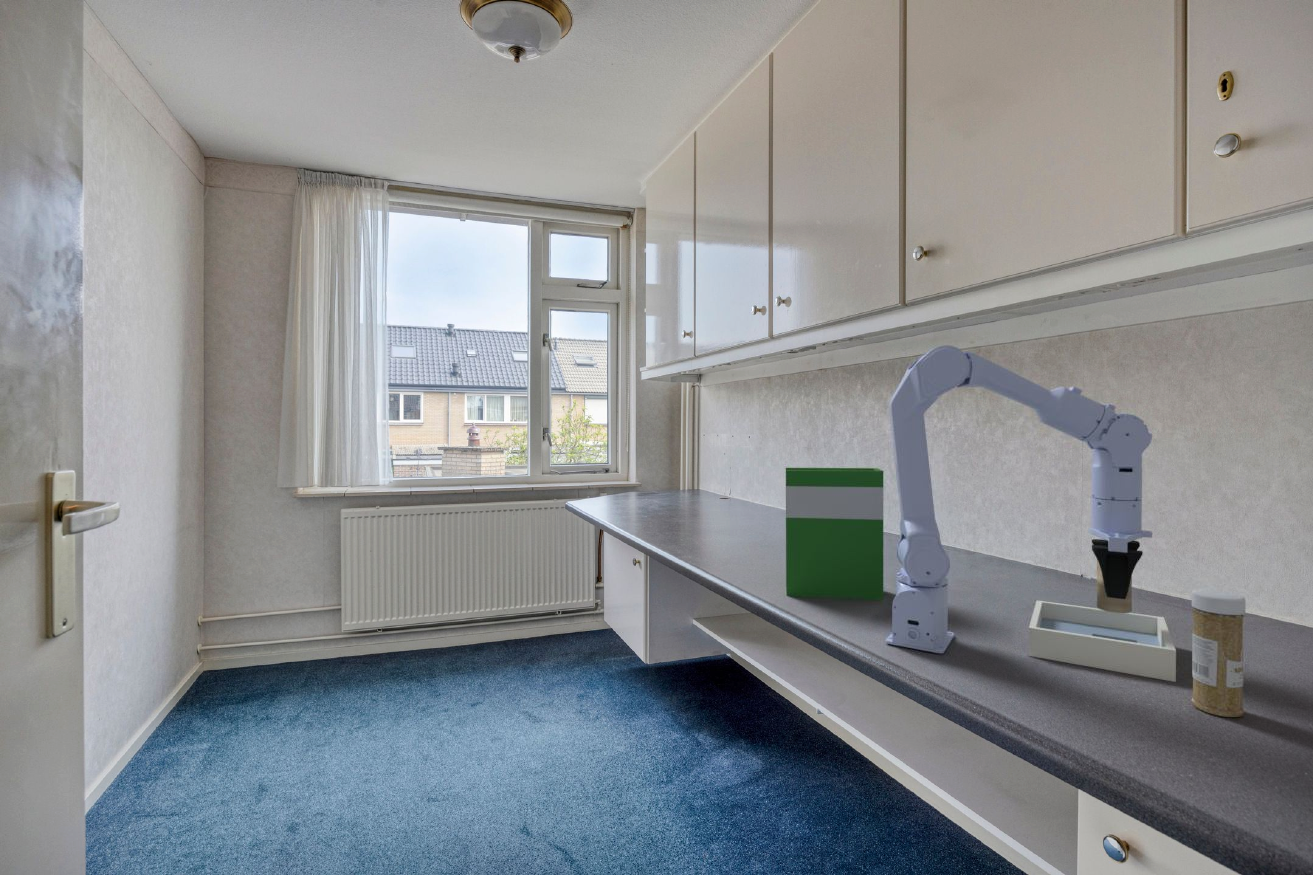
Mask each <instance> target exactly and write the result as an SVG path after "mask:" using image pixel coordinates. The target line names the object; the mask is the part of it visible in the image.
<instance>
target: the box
mask: <svg viewBox="0 0 1313 875" xmlns="http://www.w3.org/2000/svg"><path fill="white" fill-rule="evenodd" d="M1028 656H1029V657H1034V658H1039V659H1045V660H1051V661H1055V662H1062V663H1068V664H1073V665H1078V666H1084V667H1091V668H1096V669H1099V670H1100V669H1101V670H1105V671H1111V672H1117V673H1123V674H1127V675H1128V674H1129V675H1135V676H1139V677H1140V676H1141V677H1145V678H1151V679H1155V680H1162V681H1167V682H1173V683H1176V680H1177V678H1176V676H1177V675H1176V674H1177V669H1176V668H1177V650H1176V647H1175V644H1174V641H1173V639H1172V636H1171V633H1170V631H1169V628H1168V625H1167V623H1166V620H1165V617H1163V616H1156V615H1148V614H1141V613H1133V612H1130V613H1114V612H1108V611H1104V610H1101V609H1099V608H1097V607H1089V606H1082V605H1075V604H1068V603H1067V604H1066V603H1060V602H1051V601H1045V600H1036V602H1035V605H1034V609H1033V612H1032V615H1031V619H1030V623H1029V626H1028Z"/></svg>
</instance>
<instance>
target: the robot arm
mask: <svg viewBox="0 0 1313 875" xmlns="http://www.w3.org/2000/svg"><path fill="white" fill-rule="evenodd" d="M955 388H984V389H986V390H988V391H990V392H992V393H995V394H998V395H1000V396H1003V397H1005V398H1007V399H1009V400H1013V401H1014V402H1017V403H1019V404H1022V405H1023V406H1026V407H1029V408H1031V409H1034V411H1035V413H1036V416H1037V419H1038V420H1039V422H1040V423H1042V424H1043V425H1046V426H1049V427H1051V428H1053V429H1055V430H1057V431H1060V432H1062V433H1063V434H1066V435H1068V436H1070V437H1071V438H1074V439H1077V440H1078V441H1081V442H1085V444H1086V446H1088V448H1089V449H1090V450H1092V453H1091V454H1092V457H1091V458H1092V462H1091V463H1092V464H1091V526H1090V527H1089V533H1090V535H1093V536H1096V537H1097V538H1095V539H1094V538H1093V539H1091V543H1092V545H1091V550H1092V552H1093V554H1094V556H1095V557H1096V561H1097V560H1098V562H1099V565H1100V568H1101V571H1102V576H1103V582H1104V588H1105V592H1106V595H1107V597H1110V598H1118V599H1126V596H1127V593H1128V590H1129V585H1130V580H1131V576H1132V577H1133V573H1134V570H1135V568H1136V566H1137V564H1138V562H1139V561H1140V559H1141V558H1142V556H1143V554H1144V552H1143V550H1139V548H1140V547H1141V543H1140V541H1137V540H1140V539H1142V538H1146V539H1147V538H1149V539H1151V538H1153V532H1152V531H1151V530H1144V529H1143V528H1142V525H1143V524H1142V522H1143V517H1142V515H1143V514H1142V512H1143V511H1142V510H1143V509H1142V508H1143V504H1142V503H1143V501H1142V498H1143V453H1144V452H1145V450H1147V449H1148V447H1149V446H1150V444H1151V443H1152V440H1153V434H1152V433H1150V431H1149V428H1148V426H1147V425H1146V424H1145V421H1144V420H1143V419H1141V418H1140V417H1139V416H1136V415H1134V414H1130V413H1116V406H1115V405H1113V404H1111V403H1105V404H1102V403H1100V402H1098V401H1096V400H1094V399H1092V398H1089V397H1086V396H1084V394H1083V395H1082V392H1083V390H1082V389H1080V388H1079V387H1076V386H1070V387H1069V388H1067V387H1066V386H1065V387H1064V386H1060V387H1056V388H1053V389H1047V388H1045V387H1043V386H1041V385H1039V384H1037V383H1036V382H1033V381H1031V380H1029V379H1028V378H1025V377H1024V376H1022V375H1019V374H1017V373H1016V372H1013V371H1011V370H1009V369H1007V368H1006V367H1003V366H1001V365H999V364H997V363H995V362H993V361H991V360H989V359H987V358H985V357H983V356H980V355H978V354H976V353H973V352H970V351H963V350H962V349H960V348H958V347H957V346H954V345H949V344H946V345H945V344H944V345H939V346H936V347H934V348H932V349H931V350H929V351H928V352H926V353H923V354H922V355H921V356H919V357H918V358H917V359H916V360H915V361H914V362H913V363H912V364H911V365H910V366H908V367H907V369H906V371H905V374H903V377H902V378H901V381H900V382H899V384H898V386H897V388H896V390H894V391H895V392H894V393H893V395H892V397H891V398H890V401H889V405H888V409H889V411H888V412H889V418H890V428H891V437H892V447H893V455H894V464H895V465H894V467H895V474H896V483H897V484H896V485H897V491H898V492H897V493H898V501H899V510H900V511H899V512H900V523H899V532H900V534H899V535H900V537H899V540H898V542H897V544H896V550H895V553H896V557H897V559H898V561H899V563H900V564H901V565H902V567H901V568H900V569H899V571H898V572H897V573H896V575H895V576H896V579H895V580H896V581H895V584H896V587H895V588H896V590H895V592H896V593H895V596H894V598H893V601H892V606H891V608H892V611H891V612H892V613H891V615H892V617H891V618H892V620H891V621H892V622H891V624H892V625H891V626H892V630H891V631H892V632H891V633H890V634H889V636H887V638H886V639H885V643H886V644H887V645H892V646H899V647H902V648H904V647H905V648H910V649H915V650H920V651H924V652H930V653H935V654H944V653H945V651H946V650H947V648H948V646H949V645H950V643H951V641H952V639H953V638H954V637H955V632H953V631H948V621H949V620H948V616H949V615H948V614H949V611H948V610H949V609H948V606H949V605H948V604H949V602H948V600H949V599H948V598H949V596H948V595H949V594H948V592H949V589H948V587H949V586H948V584H949V583H948V581H949V580H948V578H947V576H948V575H949V572H950V568H951V560H950V557H949V555H948V553H947V552H946V550H945V549H944V546H943V545H942V542H941V534H940V530H939V527H938V524H937V521H936V514H935V505H934V496H933V488H932V486H933V485H932V478H931V468H930V461H929V450H928V443H927V442H928V441H927V440H928V439H927V434H926V433H927V431H926V423H925V413H926V412H927V410H929V408H931V407H932V405H933V404H934V403H935V402H936V401H937V400H938V399H939V397H941V396H942V395H944V394H946V393H948V392H950V391H951V390H953V389H955ZM1142 529H1143V530H1142ZM1098 538H1099V539H1098Z"/></svg>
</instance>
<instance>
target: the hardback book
mask: <svg viewBox="0 0 1313 875" xmlns="http://www.w3.org/2000/svg"><path fill="white" fill-rule="evenodd" d="M785 585H786V586H785V588H786V589H785V590H786V593H785V594H786V596H788V597H807V598H809V597H810V598H828V599H829V598H830V599H832V598H833V599H851V600H852V599H853V600H854V599H855V600H876V601H884V471H883V470H882V469H880V468H878V467H785Z"/></svg>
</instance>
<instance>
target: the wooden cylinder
mask: <svg viewBox="0 0 1313 875" xmlns="http://www.w3.org/2000/svg"><path fill="white" fill-rule="evenodd" d="M1132 584H1133V575H1132V576H1131V580H1130V585H1129V590H1128V593H1127V596H1126V599H1118V598H1110V597H1107V595H1106V592H1105V588H1104V582H1103V576H1102V571H1101V568H1100V565H1099V562H1098V560H1097V559H1096V608H1098V609H1101V610H1104V611H1108V612H1114V613H1133V612H1132V611H1133V606H1132V605H1133V596H1132V595H1133V594H1132V593H1133V591H1132V590H1133V587H1132V586H1133V585H1132Z"/></svg>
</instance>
